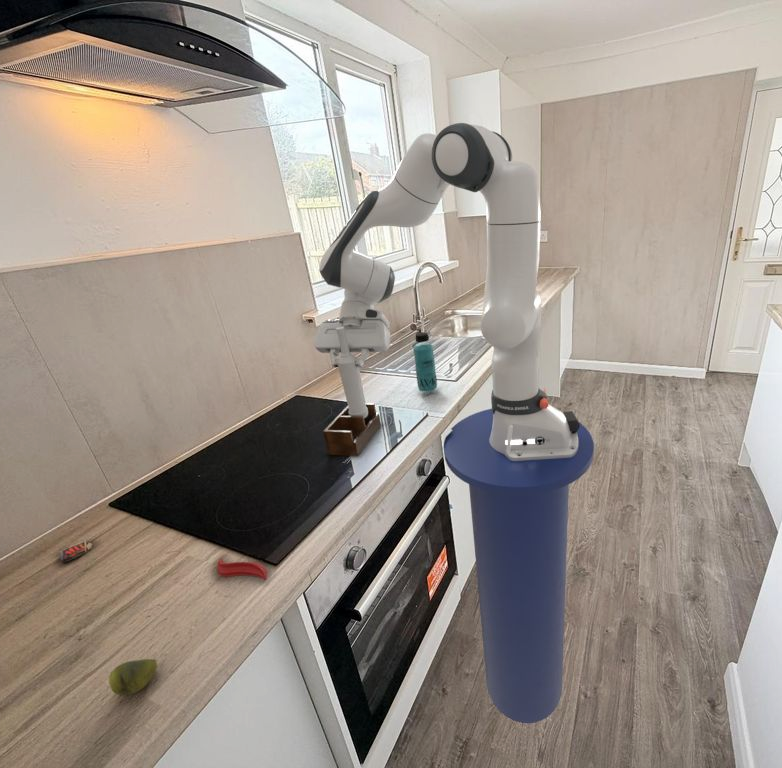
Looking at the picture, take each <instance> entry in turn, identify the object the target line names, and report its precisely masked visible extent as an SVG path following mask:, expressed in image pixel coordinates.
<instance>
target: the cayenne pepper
mask: <svg viewBox="0 0 782 768" xmlns="http://www.w3.org/2000/svg"><path fill="white" fill-rule="evenodd" d="M216 570H217V573H218V574H219V576H220V577H223V578H230V577H238V576H251V577H258V578H261V579H262V580H265V581H266V580H267V578H268V571H267V569H266V567H265V566H264V565H262V564H261V563H259V562H253V561H252V562H251V561H246V562H245V561H236V562H227V563H226V562H225V561H224V560H223V559H222V558H219V559H218V561H217V564H216Z"/></svg>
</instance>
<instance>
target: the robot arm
mask: <svg viewBox="0 0 782 768" xmlns="http://www.w3.org/2000/svg"><path fill="white" fill-rule="evenodd" d="M449 186H452V187H455V188H458V189H463V190H465V191H469V192H472V193H477V192H479V193H481V194H482V196H483V198H484V201H485V208H486V251H487V253H486V256H487V261H486V262H487V263H486V275H485V283H484V290H483V291H484V293H483V303H482V305H483V306H482V314H481V320H480V331H481V335H482V337H483V338H484V340H485V341H486V342H487V343H488V345H490V346H491V347H493V349H492V350H493V351H492V356H491V357H492V358H491V378H492V379H491V380H492V391H491V395H490V401H491V402H490V405H491V409H492V412H493V425H492V431H491V435H490V439H489V442H490V445H491V446H492V448H494V449H495V450H496V451H498V452H500V453H502V454H504V455H505V456H506V457H507V458H508V459H509V460H511V461H526V460H541V459H557V458H570V457H573V456H574V455H575V454H576V453H577V451H578V446H579V443H578V436H577V433H576V432H577V431H578V429H579V427H580V424H579V423H580V422H579V420H578V418H577V416H576V415H575V413H574V411H573V410H570V411H569V410H567V411H560V410H559V408H558V409H557V408H556V407H554V406H553V405H551V404H549V399H548V395H547V393H546V391H547V390H546V389H545V388H543V390H542V389H541V388H539V355H540V345H541V331H542V330H541V328H542V309H543V308H542V305H543V304H542V298H541V296H540V294H539V291H537V280H538V273H539V265H540V255H541V254H540V253H541V252H540V250H541V198H540V197H541V195H540V187H539V181H538V175H537V172H536V171H535V169H534V168H533V167H532V166H531V165H530V164H528V163H526V162H523V161H517V160H513V152H512V149H511V147H510V144H509V143H508V141H507V140H506V139H505V138H504V137H503V135H501V134H500V133H498V132H495V131H493V130H489V129H488V128H486V127H484V126H483V125H477V124H469V123H465V122H457V123H453V124H450V125H447V126H446V127H444V128H443V129H442V130H440V131H439V133H438V134H435V133H429V132H428V133H422V134H419V136H417V137H416V138H415V139H414V141H413V142H412V143H411V145H410V146H409V148H408V149H407V151H406V152H405V154H404V156H403V157H402V159H401V161H400V163H399V164H398V166H397V168H396V171H395V172H394V175H393V176H392V179H391V180H390V181H389V182H388V183H387V185H384V187H382V188H380V189H379V190H371V191H370V192H369V193H367V194H366V195H365V197H364V198H363V199H362V200H361V202H360V203H359V204H358V206H357V207H356V209H355V210H354V212H353V213H352V215H351V216H350V218H348V220H347V222H346V223H345V225H344V227H343V228H342V229H341V230H340V232H339V234H338V235H337V237H336V238H335V239H334V241H333V242H332V243H331V244H330V245H329V246H328V248H327V249H326V250H325V252H324V253H323V254H322V257H321V258H320V262H319V274H320V275H321V277H322V279H323V281H324V282H325V283H326V284H327V285H328V286H332V287H336V288H340V289H341V288H342V289H344V291H343V294H344V299H343V301H342V302H341V305H340V311H339V316H338V319H337V318H336V319H325V321H322V323H320V324H319V328H318V331H317V333H316V335H315V339H314V341H313V347H314V348H315V349H316V350H317V351H318V352H320V353H322V354H330V357H331V358H332V362H331V366H332V367H333V368H338V364H337V361H338V359H339V358H338V357H340V353H341V354H342V352H341V348H340V343H339V338H338V335H337V330H336V328H338V327H344V328H345V332H346V338H347V343H348V347H349V352H351V353H361V355H360V356H359V358H357V359H356V362H355V366H357V367H359V368H363V367H364V365H365V361H366V360H367V359H368V358H369V357H370V353H386V352H387V351H389V350H390V347H391V331H390V330H389V328H390V326H391V323H390V321H389V319H388V318H387V317H386V316H385V314H384V313H383V312H382V311H381V310H377V309H375V305H376V304H379V303H382V302H383V301H385V300H387V299H389V298H390V297H391V295H392V294H393V291H394V287H395V281H396V276H395V273H394V270H393V268H392V266H391V265H389V264H387V263H385V262H382V261H380V260H378V259H375V258H372V257H369V256H367V255H365V254H362V253H360V252H358V251H355V250H354V249H355V248H356V247H357V245H358V244H359V242H360V241H361V239H363V237H364V236H365V234H366V233H367V231H369V230H370V229H373V228H376V227H396V228H397V227H398V228H413V227H419V226H420V225H423V224H424V223H426V222H427V221H428V220H429V219H430V218H431V216H432V215H433V213H434V212H435V210H436V209H437V207H438V205H439V204H440V201H441V200H442V197H443V195H444V194H445V192H446V190H447V189H448V187H449Z"/></svg>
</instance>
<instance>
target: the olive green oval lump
mask: <svg viewBox="0 0 782 768" xmlns="http://www.w3.org/2000/svg"><path fill="white" fill-rule="evenodd" d="M157 666H158V662H157V660H156V659H154V658H153V659H152V658H141V659H136V660H129V661H125V662H123V663H122V664H119V665H118V666H115V668H114V669H113V670H112V671H111V672H110V674H109V676H108V683H109V686H110V689H111V691H112V693H114V694H116V695H118V696H123V697H124V696H125V697H127V696H132V695H135V694H136V693H138V692H139V691H141V690H143V689H144V688H145V687H146V686H147V685H148V683H150V681H151V680H152V679H153V677H154V676H155V673H156V670H157V668H158V667H157Z"/></svg>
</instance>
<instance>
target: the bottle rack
mask: <svg viewBox="0 0 782 768" xmlns="http://www.w3.org/2000/svg"><path fill="white" fill-rule="evenodd" d="M365 403H366V407H367V408H368V416H367V417H366V418H364V416H349V408H348V405H347V406H345V407H344V408H343V409H342V411H341V412H340V413H339V414H338V415H337V416H336V417H335V418H334V419H333V420H332V421H331V422H330V423H328V425H327V426H326V427H325V428H324V430H323V431H322V433H323V437H324V441H325V444H326V449H327V453H328V456H345V457H346V456H347V457H348V456H349V457H359V456H360V454H361V453H362V452H363V451H364V450H365V447H366V446H367V445H368V444H369V442H370V441H371V440H372V438H373V437H374V435H375V434H376V432H377V431H378V430H379V429H380V428H381V426H382V423H381V417H380V412H377V410H376V409H377V408H376V405H375V403H374V402H372V403H371V402H365Z"/></svg>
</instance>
